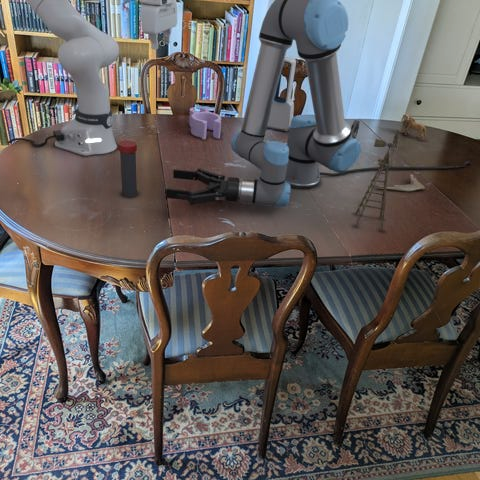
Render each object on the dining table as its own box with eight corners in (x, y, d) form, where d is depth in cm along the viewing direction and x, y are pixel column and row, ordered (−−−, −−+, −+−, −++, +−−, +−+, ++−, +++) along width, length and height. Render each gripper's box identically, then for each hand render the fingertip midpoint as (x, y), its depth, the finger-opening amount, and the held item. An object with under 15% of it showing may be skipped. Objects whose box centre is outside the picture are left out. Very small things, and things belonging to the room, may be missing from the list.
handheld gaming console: (349, 160, 187) (354, 136, 182) (342, 158, 188) (347, 134, 183) (355, 142, 206) (361, 119, 201) (349, 140, 207) (354, 118, 201)
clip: (182, 123, 206) (183, 107, 202) (209, 122, 210) (210, 106, 207) (197, 140, 191) (197, 123, 187) (225, 138, 195) (226, 122, 191)
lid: (117, 147, 140) (117, 140, 139) (135, 146, 142) (134, 139, 141) (120, 154, 136) (119, 147, 135) (138, 153, 138) (138, 146, 137)
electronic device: (292, 127, 214) (303, 59, 198) (288, 132, 208) (299, 62, 192) (266, 122, 217) (275, 54, 201) (262, 127, 211) (270, 57, 194)
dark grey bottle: (121, 191, 148) (118, 142, 139) (135, 190, 150) (133, 141, 141) (123, 197, 145) (121, 148, 136) (138, 196, 146) (136, 147, 137)
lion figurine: (395, 132, 222) (400, 114, 217) (400, 130, 225) (405, 112, 220) (425, 142, 214) (431, 123, 209) (429, 139, 218) (435, 120, 213)
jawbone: (429, 189, 172) (431, 184, 171) (394, 201, 161) (396, 196, 160) (410, 177, 177) (412, 172, 176) (375, 189, 167) (376, 184, 165)
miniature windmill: (382, 232, 141) (411, 137, 125) (354, 227, 142) (379, 132, 126) (381, 217, 149) (408, 126, 133) (354, 213, 150) (378, 122, 134)
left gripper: (163, -9, 142) (162, 39, 149) (136, -4, 125) (137, 50, 132) (182, -7, 141) (181, 42, 149) (158, -1, 124) (158, 53, 131)
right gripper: (236, 221, 134) (162, 214, 134) (239, 183, 155) (176, 177, 155) (238, 198, 130) (162, 190, 130) (241, 162, 151) (176, 155, 151)
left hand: (160, 46), depth 140 cm, fingers open, 8 cm apart
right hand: (169, 183), depth 142 cm, fingers open, 13 cm apart
